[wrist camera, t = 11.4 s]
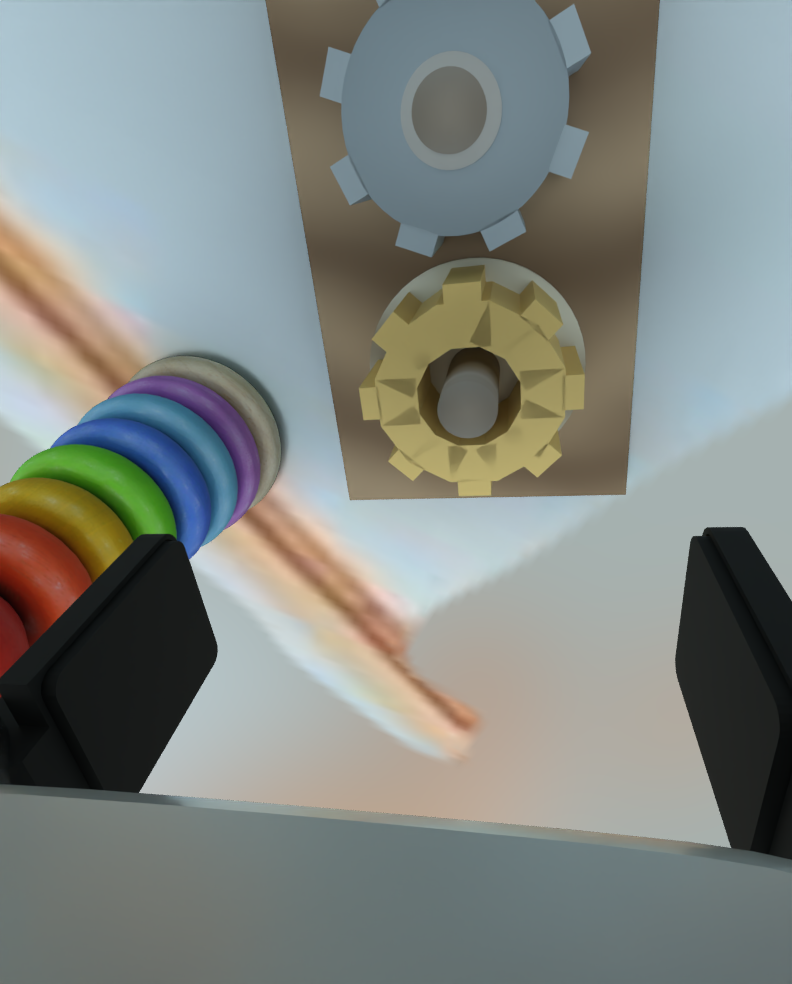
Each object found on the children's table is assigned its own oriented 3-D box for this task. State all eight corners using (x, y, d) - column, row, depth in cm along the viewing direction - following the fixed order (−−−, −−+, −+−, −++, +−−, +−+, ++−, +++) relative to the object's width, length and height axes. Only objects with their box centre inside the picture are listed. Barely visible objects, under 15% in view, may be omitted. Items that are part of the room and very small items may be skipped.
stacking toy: (309, 397, 28) (16, 738, 11) (260, 528, 31) (-8, 921, 15) (146, 321, 27) (-401, 562, 11) (117, 464, 31) (-314, 798, 15)
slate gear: (307, 70, 20) (266, 52, 17) (521, -90, 17) (523, -151, 14) (414, 281, 23) (397, 303, 19) (614, 171, 20) (635, 174, 17)
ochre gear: (366, 276, 23) (344, 294, 20) (576, 255, 21) (587, 271, 18) (391, 459, 26) (375, 498, 23) (573, 452, 25) (581, 493, 22)
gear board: (270, -54, 20) (186, -128, 15) (659, -137, 18) (720, -261, 12) (357, 484, 29) (323, 555, 24) (620, 478, 27) (646, 554, 22)
